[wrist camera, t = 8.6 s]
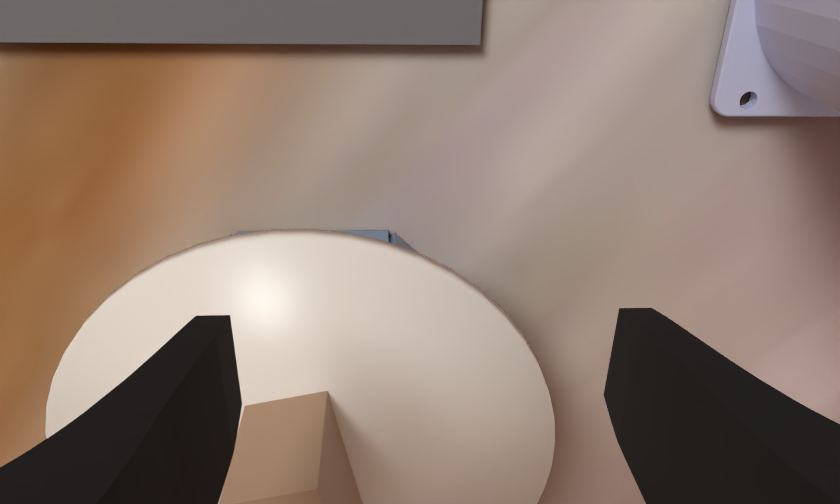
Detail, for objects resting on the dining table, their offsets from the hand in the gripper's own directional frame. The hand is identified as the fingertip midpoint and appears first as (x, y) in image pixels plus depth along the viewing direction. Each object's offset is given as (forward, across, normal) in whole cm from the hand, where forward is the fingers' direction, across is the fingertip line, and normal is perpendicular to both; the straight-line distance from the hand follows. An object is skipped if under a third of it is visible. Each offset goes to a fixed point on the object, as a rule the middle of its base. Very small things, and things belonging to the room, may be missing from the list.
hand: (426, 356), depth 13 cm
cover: (+6, +3, +8) cm, 10 cm away
